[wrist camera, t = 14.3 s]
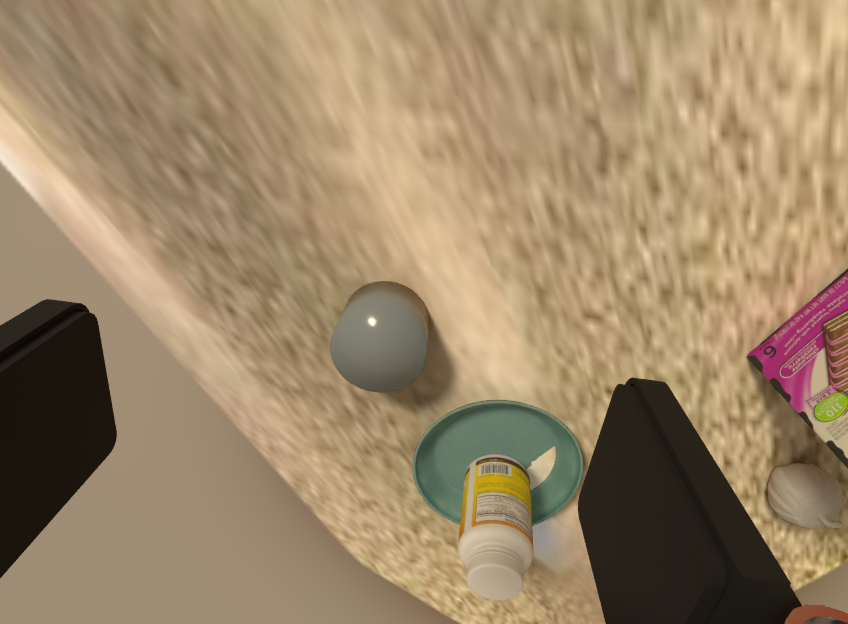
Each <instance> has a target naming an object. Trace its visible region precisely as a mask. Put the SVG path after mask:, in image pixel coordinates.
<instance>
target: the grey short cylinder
mask: <svg viewBox="0 0 848 624" xmlns="http://www.w3.org/2000/svg"><path fill="white" fill-rule="evenodd" d="M429 327H430V318H429V313H428V310H427V307H426V305H425V304H424V302H423V301H422V299H421V298H420V297H419V296H418V295H417V294H416V293H415V292H414V291H413V290H411V289H409V288H408V287H406V286H404V285H401V284H398V283H395V282H388V281H379V282H373V283H370V284H367V285H365V286H363V287H361V288H360V289H358V290H357V291H356V292H354V293H353V295H352V296H351V297H350V298H349V300H348V302H347V304H346V306H345V308H344V310H343V313H342V315H341V317H340V319H339V321H338V323H337V326H336V328H335V330H334V332H333V334H332V338H331V342H330V352H331V357H332V360H333V363H334V365H335V367H336V368H337V370H338V371H339V373H340V374H341V375H342V376H343V377H344V378H345V379H346V380H347V381H349V382H350V383H352V384H353V385H355V386H357V387H359V388H361V389H364V390H368V391H372V392H391V391H395V390H399V389H401V388H404V387H405V386H407V385H409V384H410V383H412V382H413V381H414V380H415V379H416V378H417V377H418V375H419V374H420V373H421V371H422V369H423V367H424V364H425V360H426V353H427V344H428V336H429Z"/></svg>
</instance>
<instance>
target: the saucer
mask: <svg viewBox="0 0 848 624" xmlns="http://www.w3.org/2000/svg"><path fill="white" fill-rule="evenodd" d="M553 446H555V448H556V460H555V464H554V467H553V469H552V471H551V473H550V474H549V476H548V477H547V478H546V479H545V480H544V481H543V482H542V483H541V484H540V485H539V486H538V487H536V488H535V489H533V490H531V491H530V496H531V516H532V526H533V525H535V524H538V523H540V522H542V521H544V520H546V519H548V518H549V517H551V516H553V515H555V514H556V513H557V512H559V511H560V510H561V509H562V508H563V507H565V506H566V505H567V503H568V502H569V501H570V500H571V499H572V497H573V496H574V494H575V493H576V491H577V489H578V487H579V485H580V482H581V479H582V474H583V457H582V452H581V449H580V447H579V444H578V442H577V440H576V438H575V437H574V435H573V434H572V433H571V431H570V430H569V429H568V428H567V427H566V426H565V425H564V424H563V423H562V422H561V421H560V420H558V419H557V418H556V417H554V416H552V415H551V414H549V413H547V412H545V411H543V410H541V409H539V408H537V407H534V406H531V405H528V404H525V403H521V402H516V401H508V400H487V401H480V402H475V403H471V404H468V405H465V406H462V407H460V408H457V409H455V410H453V411H451V412H449V413H448V414H446V415H445V416H443V417H442V418H440V419H439V420H438V421H436V422H435V423H434V424H433V425H432V426H431V427H430V428H429V429H428V430H427V431H426V432H425V434H424V435H423V436H422V438H421V439H420V441H419V443H418V445H417V447H416V450H415V453H414V457H413V478H414V481H415V484H416V487H417V489H418V491H419V493H420V494H421V496H422V497H423V499H424V500H425V501H426V502H427V504H428V505H429V506H430V507H431V508H432V509H433V510H435V511H436V512H438V513H439V514H440V515H441V516H443V517H445V518H446V519H448V520H451V521H452V522H454V523H457V524H460V521H461V510H462V500H463V489H464V479H465V473H466V470H467V468H468V466H469V465H470V464H471V463H472V462H473V461H474V460H476V459H477V458H479V457H482V456H485V455H490V454H500V455H506V456H509V457H511V458H513V459H515V460H517V461H518V462H520V463H521V464H522V465H523V466H524V468H525V469H528V468H529V467H530V466H531V462H532V461H534V460H536V459H537V458H538V457H539V456H541V455H542V454H544V453H545V452H546V451H548V450H549V449H551V448H552V447H553Z"/></svg>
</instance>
